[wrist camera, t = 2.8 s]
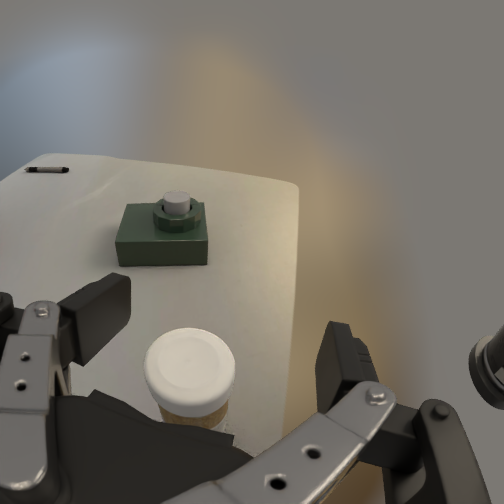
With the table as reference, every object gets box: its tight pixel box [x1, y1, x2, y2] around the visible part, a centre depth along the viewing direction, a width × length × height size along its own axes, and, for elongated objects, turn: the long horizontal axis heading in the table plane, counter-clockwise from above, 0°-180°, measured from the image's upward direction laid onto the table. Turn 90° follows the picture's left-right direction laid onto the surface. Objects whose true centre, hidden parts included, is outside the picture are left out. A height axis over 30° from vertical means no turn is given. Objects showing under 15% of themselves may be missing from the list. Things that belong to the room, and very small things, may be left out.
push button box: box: [115, 198, 208, 266], centre depth 40 cm, size 12×10×6 cm
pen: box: [24, 167, 69, 172], centre depth 59 cm, size 1×16×1 cm, turn 86°
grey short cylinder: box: [163, 190, 190, 215], centre depth 39 cm, size 4×4×2 cm
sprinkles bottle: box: [144, 328, 235, 433], centre depth 17 cm, size 5×5×13 cm
